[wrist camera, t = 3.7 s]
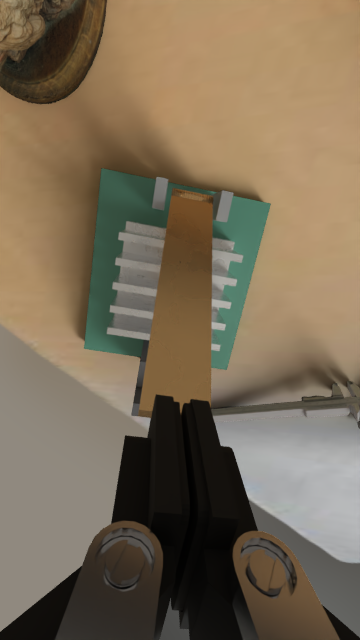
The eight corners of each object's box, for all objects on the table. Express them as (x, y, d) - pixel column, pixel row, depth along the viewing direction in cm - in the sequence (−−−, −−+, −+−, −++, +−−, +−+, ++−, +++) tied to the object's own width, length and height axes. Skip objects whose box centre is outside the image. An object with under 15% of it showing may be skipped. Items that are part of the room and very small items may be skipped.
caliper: (349, 378, 38) (383, 409, 32) (350, 386, 39) (383, 417, 33) (189, 412, 39) (193, 447, 33) (191, 419, 39) (195, 455, 33)
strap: (170, 199, 23) (173, 184, 22) (209, 207, 23) (213, 192, 22) (137, 417, 13) (139, 407, 12) (204, 426, 14) (211, 417, 13)
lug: (145, 327, 34) (138, 373, 24) (177, 332, 35) (182, 379, 25) (140, 359, 36) (131, 415, 26) (171, 363, 36) (173, 420, 26)
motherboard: (104, 170, 29) (77, 151, 20) (265, 204, 31) (307, 200, 22) (87, 343, 35) (60, 388, 26) (224, 363, 36) (243, 413, 27)
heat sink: (128, 220, 29) (120, 222, 23) (230, 240, 30) (245, 246, 25) (116, 318, 32) (105, 341, 27) (208, 333, 33) (217, 358, 28)
